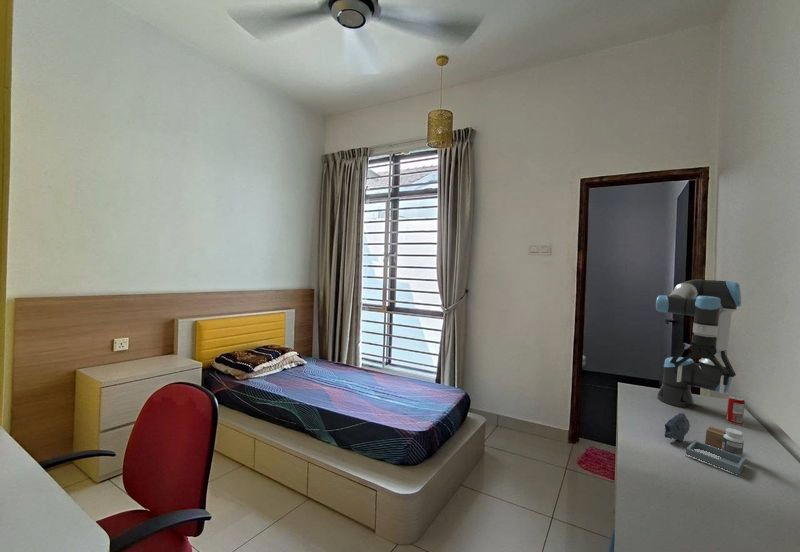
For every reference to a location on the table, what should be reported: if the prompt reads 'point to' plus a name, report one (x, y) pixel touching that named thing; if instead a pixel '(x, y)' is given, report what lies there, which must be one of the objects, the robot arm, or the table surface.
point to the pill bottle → (733, 442)
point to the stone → (677, 427)
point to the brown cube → (714, 437)
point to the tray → (726, 461)
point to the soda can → (735, 410)
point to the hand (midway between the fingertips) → (699, 386)
